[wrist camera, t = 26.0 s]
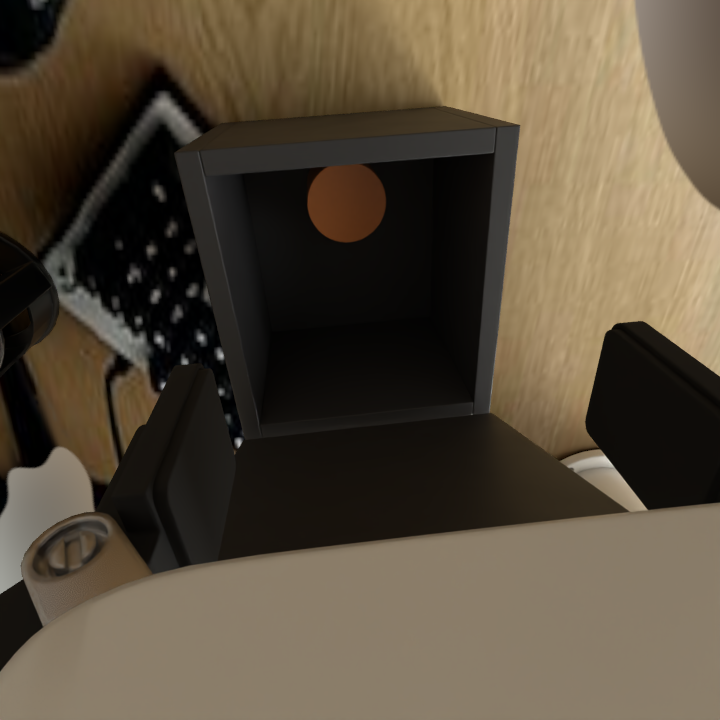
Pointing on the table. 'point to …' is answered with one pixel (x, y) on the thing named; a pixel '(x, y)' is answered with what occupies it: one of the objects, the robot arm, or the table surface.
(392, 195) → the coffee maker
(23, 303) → the french press
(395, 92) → the table surface
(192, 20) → the table surface
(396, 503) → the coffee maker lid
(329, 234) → the orange cylinder
